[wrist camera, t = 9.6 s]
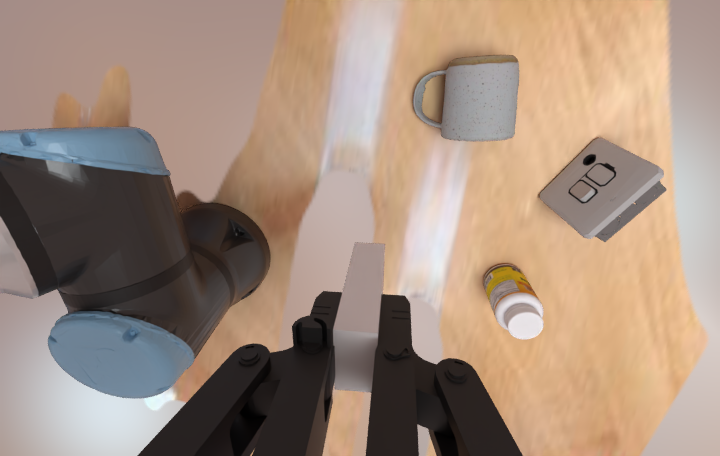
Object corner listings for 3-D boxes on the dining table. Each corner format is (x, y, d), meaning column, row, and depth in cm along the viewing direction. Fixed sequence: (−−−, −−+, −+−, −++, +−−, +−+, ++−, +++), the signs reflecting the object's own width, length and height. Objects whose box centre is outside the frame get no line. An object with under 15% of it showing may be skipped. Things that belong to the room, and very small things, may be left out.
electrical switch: (596, 134, 42) (652, 157, 34) (625, 159, 43) (685, 187, 35) (535, 195, 46) (572, 229, 37) (563, 216, 47) (604, 254, 39)
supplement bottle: (528, 288, 51) (557, 337, 42) (489, 300, 53) (509, 350, 43) (516, 256, 49) (543, 300, 40) (476, 270, 51) (494, 315, 41)
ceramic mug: (510, 54, 40) (533, 52, 33) (503, 130, 43) (522, 143, 36) (413, 61, 41) (414, 60, 34) (413, 135, 44) (414, 147, 37)
